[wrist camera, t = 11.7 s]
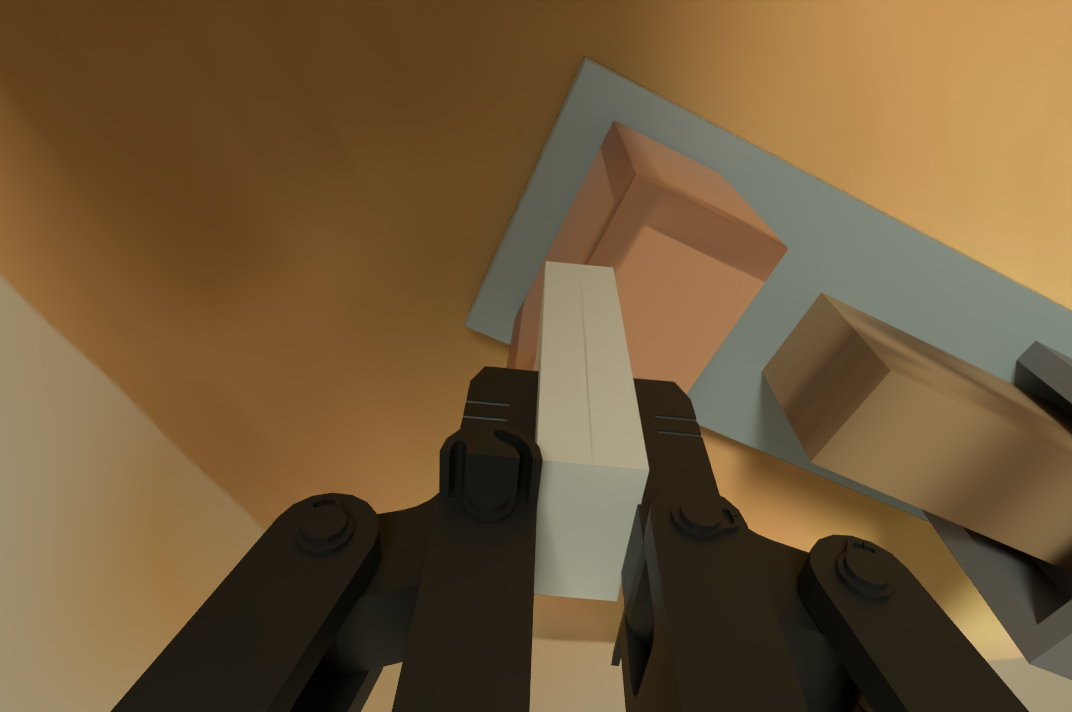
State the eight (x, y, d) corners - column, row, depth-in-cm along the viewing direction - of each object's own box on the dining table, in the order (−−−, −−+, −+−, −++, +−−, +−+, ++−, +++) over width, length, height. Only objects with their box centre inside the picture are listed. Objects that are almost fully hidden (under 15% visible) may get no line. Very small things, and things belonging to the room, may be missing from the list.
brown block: (761, 370, 26) (810, 462, 21) (821, 292, 25) (890, 370, 19) (985, 470, 28) (1079, 575, 23) (1055, 404, 27) (1175, 502, 21)
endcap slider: (514, 320, 25) (496, 434, 19) (614, 119, 22) (636, 174, 15) (608, 360, 26) (623, 483, 20) (721, 174, 22) (788, 248, 16)
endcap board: (469, 310, 27) (419, 473, 18) (584, 56, 22) (600, 97, 13) (928, 506, 32) (1082, 720, 22) (1112, 331, 27) (1414, 513, 17)
